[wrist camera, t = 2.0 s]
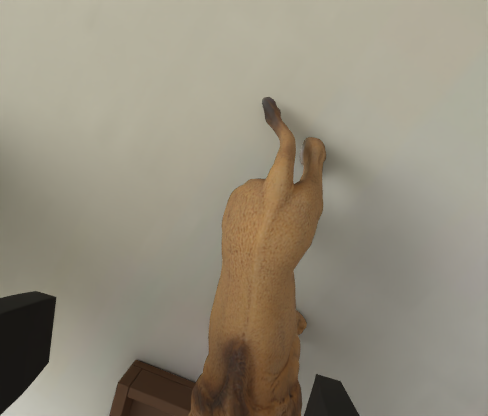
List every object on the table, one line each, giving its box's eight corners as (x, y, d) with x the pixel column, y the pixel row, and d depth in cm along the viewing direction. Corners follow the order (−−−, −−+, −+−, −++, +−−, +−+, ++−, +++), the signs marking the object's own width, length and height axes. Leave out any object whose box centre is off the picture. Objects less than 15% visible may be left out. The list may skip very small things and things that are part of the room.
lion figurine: (334, 401, 19) (354, 625, 11) (228, 396, 20) (167, 597, 12) (327, 93, 17) (346, 53, 8) (205, 103, 17) (102, 76, 9)
